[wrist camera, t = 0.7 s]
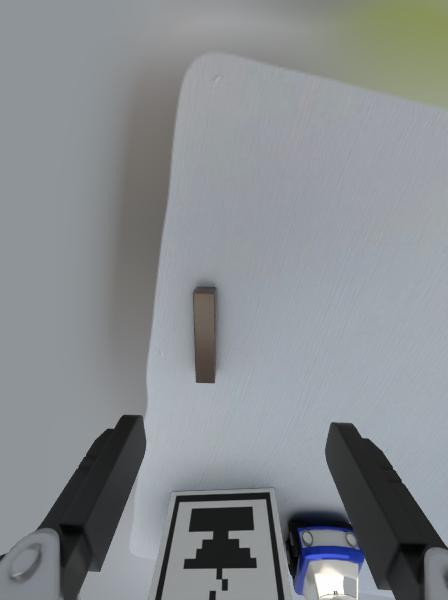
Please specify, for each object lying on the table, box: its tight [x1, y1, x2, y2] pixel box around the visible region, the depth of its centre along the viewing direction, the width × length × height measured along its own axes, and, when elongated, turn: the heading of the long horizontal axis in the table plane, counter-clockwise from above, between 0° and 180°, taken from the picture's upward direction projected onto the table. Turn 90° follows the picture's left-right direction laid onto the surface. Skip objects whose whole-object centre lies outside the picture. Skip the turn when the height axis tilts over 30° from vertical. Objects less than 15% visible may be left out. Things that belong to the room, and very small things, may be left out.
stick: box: [193, 287, 216, 383], centre depth 22 cm, size 2×10×2 cm, turn 179°
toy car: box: [286, 522, 364, 600], centre depth 30 cm, size 9×12×10 cm
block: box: [148, 488, 292, 600], centre depth 27 cm, size 15×15×15 cm
